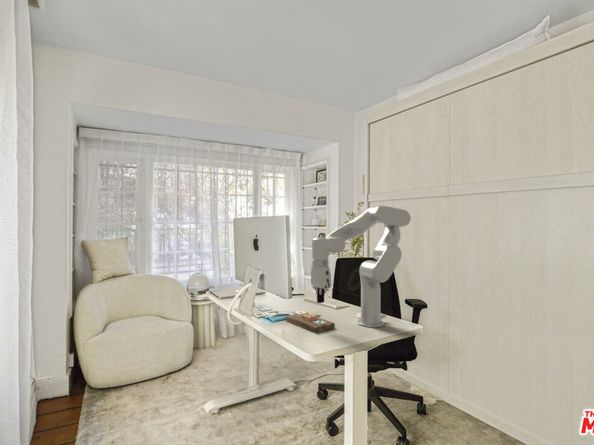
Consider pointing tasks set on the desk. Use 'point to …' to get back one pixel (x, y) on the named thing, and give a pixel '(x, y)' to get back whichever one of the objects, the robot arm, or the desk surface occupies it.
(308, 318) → the button two dots
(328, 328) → the button board
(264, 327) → the desk surface
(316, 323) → the button three dots
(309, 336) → the desk surface
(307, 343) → the desk surface
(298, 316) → the button one dot
